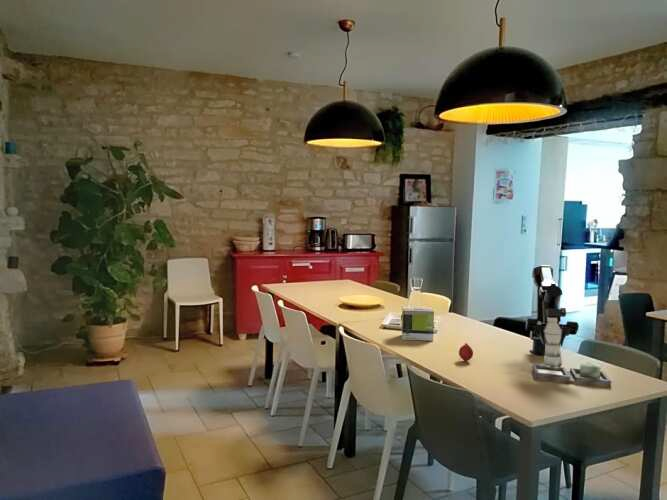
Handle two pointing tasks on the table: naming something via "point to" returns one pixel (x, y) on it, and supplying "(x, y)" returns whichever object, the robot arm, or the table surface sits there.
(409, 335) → the tea box
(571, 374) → the grey flat tray
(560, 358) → the plastic bottle
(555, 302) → the robot arm
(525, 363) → the table surface
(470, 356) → the onion
